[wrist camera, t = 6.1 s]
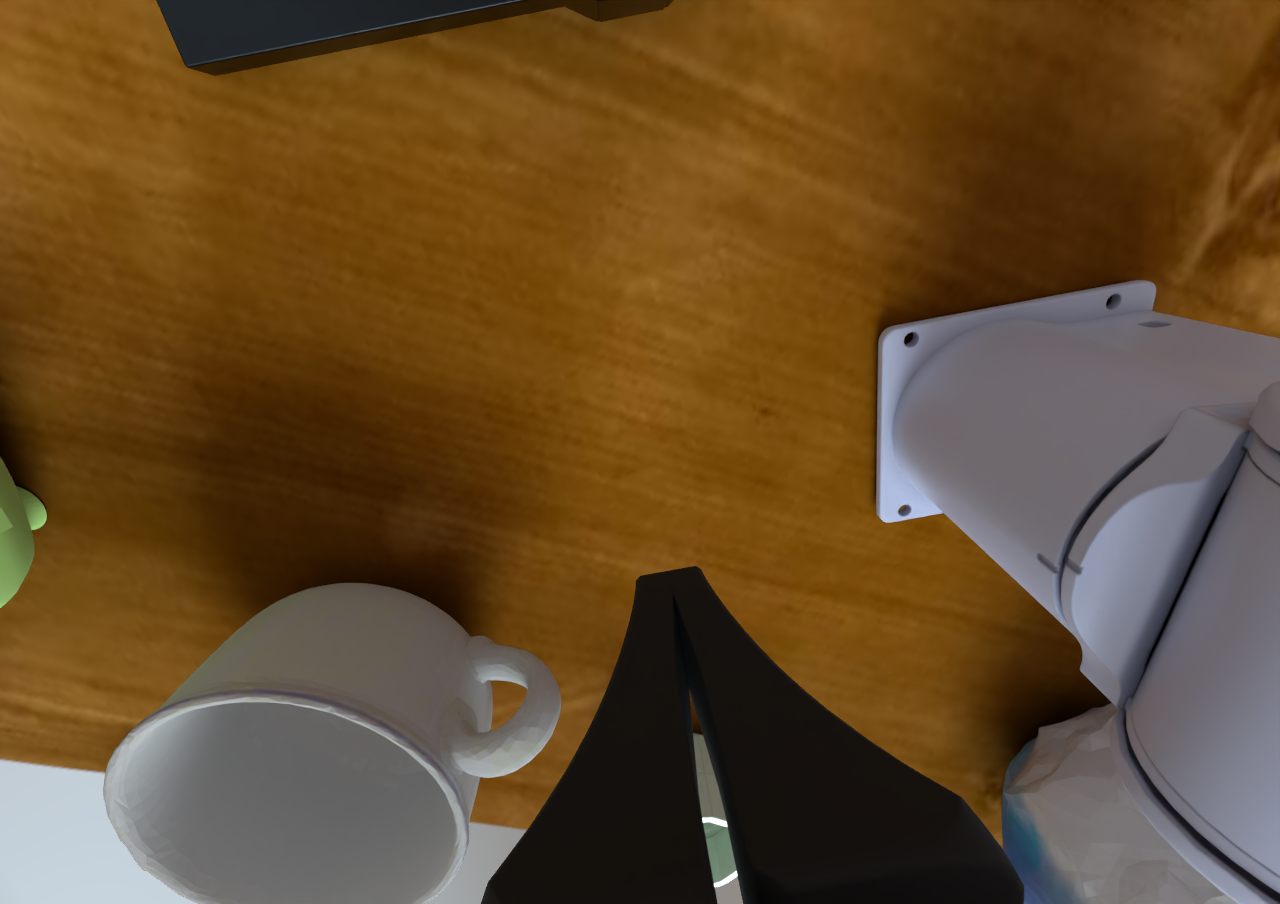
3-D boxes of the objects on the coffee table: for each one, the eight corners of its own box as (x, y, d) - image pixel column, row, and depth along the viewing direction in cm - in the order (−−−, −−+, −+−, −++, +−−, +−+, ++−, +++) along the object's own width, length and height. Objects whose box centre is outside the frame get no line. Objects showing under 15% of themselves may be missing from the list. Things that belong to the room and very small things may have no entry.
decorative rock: (1455, 1174, 13) (1208, 1289, 20) (1703, 873, 18) (1433, 1051, 25) (962, 711, 25) (912, 885, 32) (1189, 600, 29) (1102, 773, 36)
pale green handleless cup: (726, 715, 27) (748, 806, 23) (737, 788, 30) (759, 882, 26) (615, 735, 27) (617, 829, 23) (635, 806, 30) (641, 902, 26)
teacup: (310, 747, 26) (201, 956, 19) (197, 564, 22) (-2, 750, 15) (597, 699, 26) (597, 892, 19) (547, 506, 22) (520, 664, 14)
